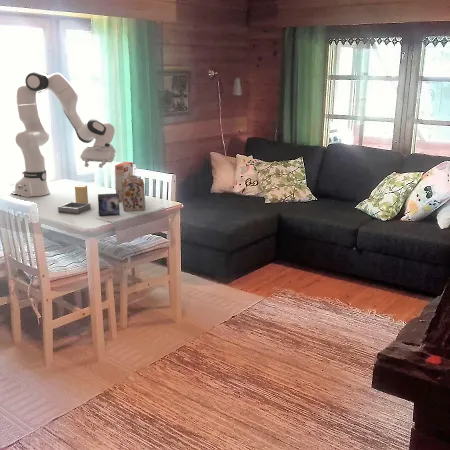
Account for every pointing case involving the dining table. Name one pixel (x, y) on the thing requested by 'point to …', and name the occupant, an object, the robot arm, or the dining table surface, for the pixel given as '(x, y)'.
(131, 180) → the decorative jar
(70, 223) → the dining table surface
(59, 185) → the dining table surface
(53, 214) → the dining table surface
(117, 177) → the cracker box
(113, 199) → the small box
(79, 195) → the tan rectangular block
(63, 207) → the tray
